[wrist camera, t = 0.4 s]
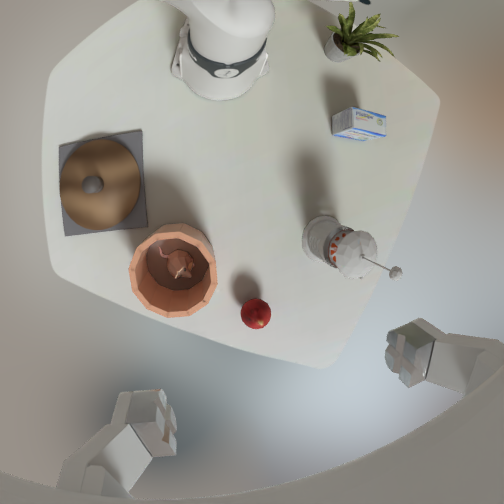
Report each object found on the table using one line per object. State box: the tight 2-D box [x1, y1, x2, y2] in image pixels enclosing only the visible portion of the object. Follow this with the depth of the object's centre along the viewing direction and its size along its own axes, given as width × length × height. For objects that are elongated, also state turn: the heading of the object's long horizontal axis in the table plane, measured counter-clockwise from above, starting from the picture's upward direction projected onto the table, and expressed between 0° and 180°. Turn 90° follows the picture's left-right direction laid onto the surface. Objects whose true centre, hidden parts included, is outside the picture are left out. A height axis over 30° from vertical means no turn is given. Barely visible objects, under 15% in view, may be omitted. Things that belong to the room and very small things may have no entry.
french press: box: [302, 216, 402, 281], centre depth 45 cm, size 10×12×25 cm
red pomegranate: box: [241, 299, 271, 329], centre depth 54 cm, size 6×6×8 cm
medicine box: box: [332, 107, 386, 141], centre depth 48 cm, size 8×4×9 cm, turn 88°
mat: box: [59, 131, 148, 236], centre depth 46 cm, size 18×18×1 cm
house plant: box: [324, 2, 399, 62], centre depth 40 cm, size 14×14×16 cm
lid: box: [60, 139, 141, 230], centre depth 44 cm, size 17×17×5 cm
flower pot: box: [129, 223, 218, 318], centre depth 48 cm, size 14×14×10 cm
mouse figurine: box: [158, 247, 195, 278], centre depth 49 cm, size 5×8×7 cm, turn 52°
